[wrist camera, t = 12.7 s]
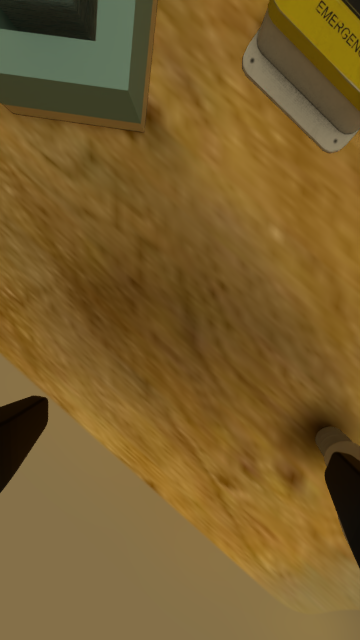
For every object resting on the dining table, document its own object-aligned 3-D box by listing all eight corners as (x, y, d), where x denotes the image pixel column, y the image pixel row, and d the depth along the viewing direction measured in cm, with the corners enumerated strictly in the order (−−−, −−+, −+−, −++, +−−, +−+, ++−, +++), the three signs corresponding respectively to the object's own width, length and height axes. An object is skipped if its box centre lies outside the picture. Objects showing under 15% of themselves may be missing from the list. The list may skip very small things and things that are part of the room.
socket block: (13, 113, 17) (-42, 67, 13) (9, -71, 14) (-60, -196, 10) (144, 132, 16) (128, 90, 13) (162, -53, 14) (149, -175, 10)
